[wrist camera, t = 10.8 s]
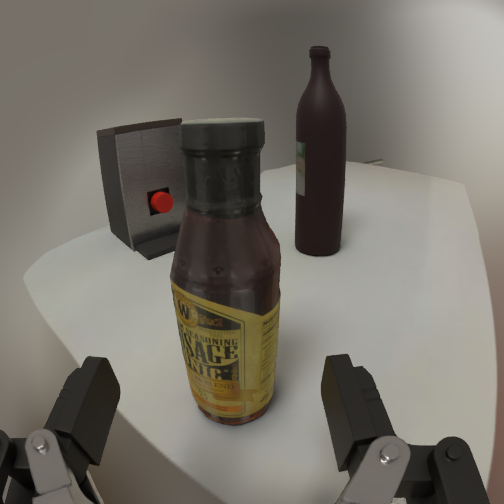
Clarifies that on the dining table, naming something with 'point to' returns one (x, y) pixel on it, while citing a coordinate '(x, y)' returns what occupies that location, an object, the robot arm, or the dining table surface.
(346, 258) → the dining table surface
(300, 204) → the wine bottle
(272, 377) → the sauce bottle
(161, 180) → the coffee maker
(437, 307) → the dining table surface
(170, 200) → the power button
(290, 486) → the dining table surface
